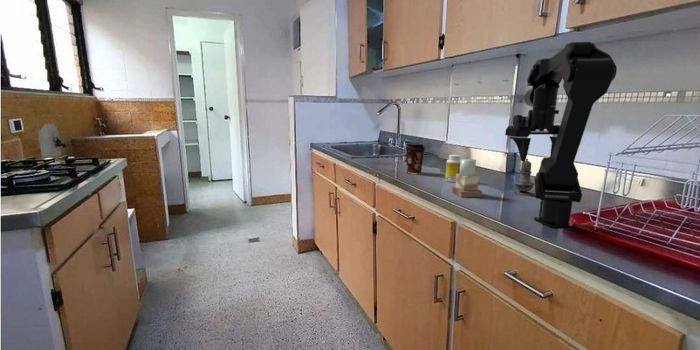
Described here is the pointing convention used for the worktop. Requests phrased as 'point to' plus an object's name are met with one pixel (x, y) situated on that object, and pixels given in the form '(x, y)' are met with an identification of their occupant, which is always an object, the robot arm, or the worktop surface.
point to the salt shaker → (524, 179)
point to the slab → (466, 192)
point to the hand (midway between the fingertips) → (537, 161)
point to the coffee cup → (414, 157)
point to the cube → (467, 182)
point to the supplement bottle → (452, 168)
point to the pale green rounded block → (467, 167)
